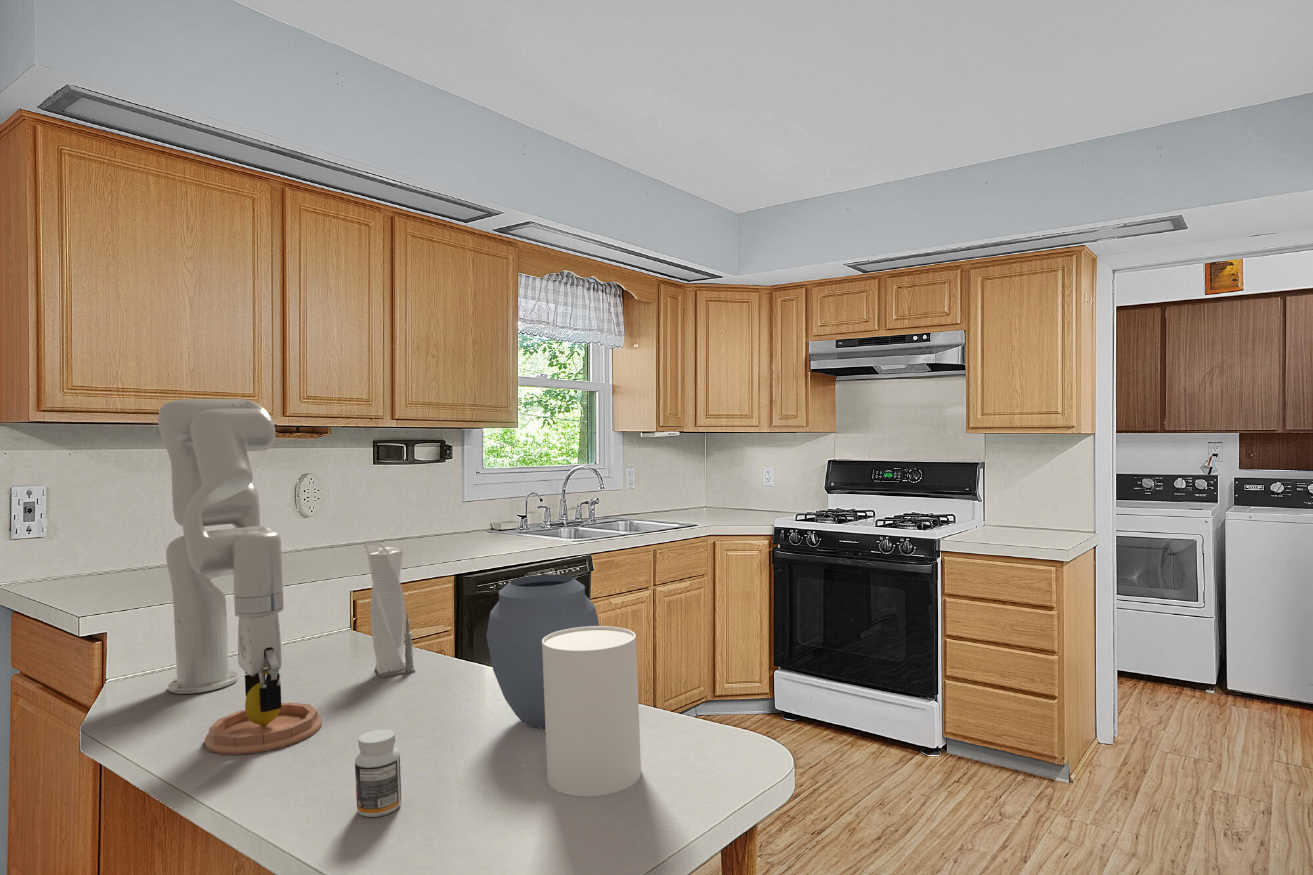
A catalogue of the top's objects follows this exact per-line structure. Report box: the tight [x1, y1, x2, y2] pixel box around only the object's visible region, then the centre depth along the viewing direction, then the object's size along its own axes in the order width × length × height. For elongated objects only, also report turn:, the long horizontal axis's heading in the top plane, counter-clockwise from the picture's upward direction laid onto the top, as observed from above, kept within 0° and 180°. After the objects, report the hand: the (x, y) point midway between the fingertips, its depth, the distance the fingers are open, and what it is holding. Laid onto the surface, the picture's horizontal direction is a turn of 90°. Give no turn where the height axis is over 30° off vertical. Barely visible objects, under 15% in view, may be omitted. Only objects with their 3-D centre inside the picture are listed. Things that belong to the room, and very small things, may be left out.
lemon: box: [244, 682, 280, 727], centre depth 139 cm, size 6×6×8 cm
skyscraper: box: [363, 542, 416, 679], centre depth 173 cm, size 8×8×28 cm
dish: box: [204, 702, 323, 756], centre depth 138 cm, size 18×18×2 cm
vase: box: [485, 574, 601, 729], centre depth 139 cm, size 20×20×24 cm
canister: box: [542, 625, 642, 797], centre depth 117 cm, size 14×14×20 cm
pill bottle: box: [354, 729, 402, 818], centre depth 108 cm, size 6×6×10 cm
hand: (263, 702), depth 138 cm, fingers open, 9 cm apart
